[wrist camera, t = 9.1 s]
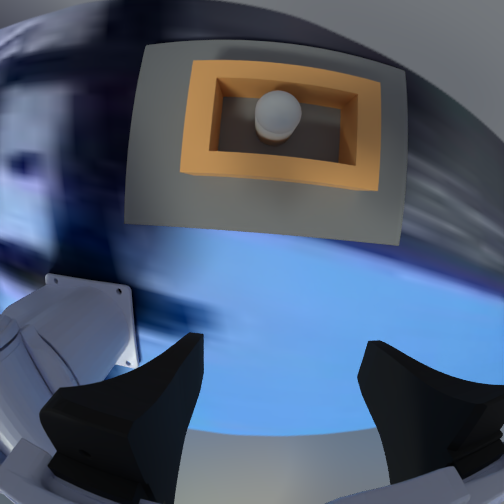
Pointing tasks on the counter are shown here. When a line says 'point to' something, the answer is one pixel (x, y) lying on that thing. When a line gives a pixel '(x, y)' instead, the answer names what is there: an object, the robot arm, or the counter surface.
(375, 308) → the counter surface
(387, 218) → the keeper plate
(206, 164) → the orange rectangular frame
